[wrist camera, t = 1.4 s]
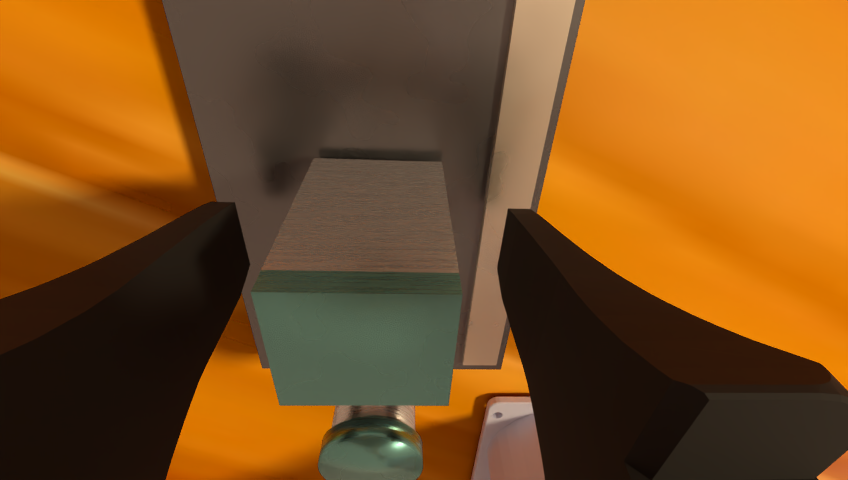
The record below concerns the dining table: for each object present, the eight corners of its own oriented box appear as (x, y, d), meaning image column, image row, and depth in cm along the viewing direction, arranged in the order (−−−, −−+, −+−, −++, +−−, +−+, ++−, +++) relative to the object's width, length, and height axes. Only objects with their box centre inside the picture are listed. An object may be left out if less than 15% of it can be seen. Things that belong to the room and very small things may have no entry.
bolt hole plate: (496, 351, 19) (501, 373, 18) (269, 349, 18) (260, 372, 17) (624, -251, 8) (652, -279, 7) (109, -291, 8) (66, -326, 7)
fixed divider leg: (417, 342, 17) (420, 491, 12) (347, 342, 16) (323, 493, 12) (420, 290, 15) (425, 438, 10) (342, 289, 15) (312, 439, 10)
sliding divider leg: (435, 252, 14) (448, 405, 9) (324, 250, 13) (279, 405, 9) (441, 161, 12) (462, 294, 7) (313, 157, 12) (250, 291, 7)
